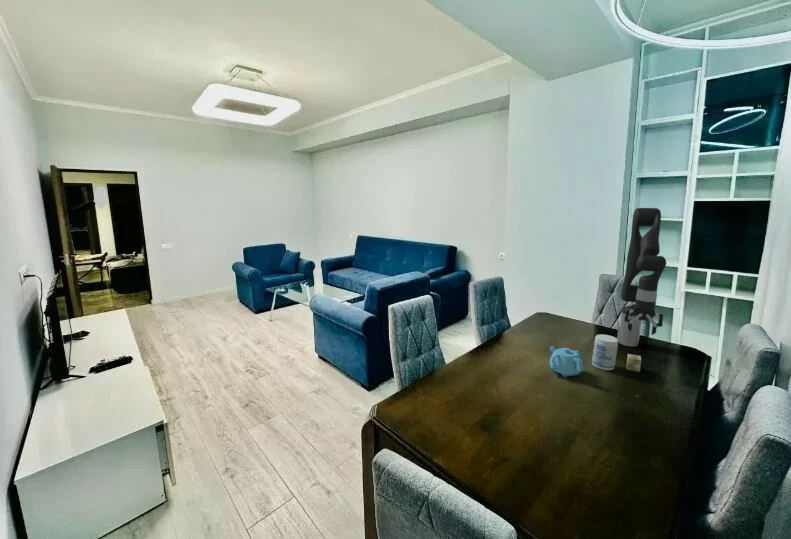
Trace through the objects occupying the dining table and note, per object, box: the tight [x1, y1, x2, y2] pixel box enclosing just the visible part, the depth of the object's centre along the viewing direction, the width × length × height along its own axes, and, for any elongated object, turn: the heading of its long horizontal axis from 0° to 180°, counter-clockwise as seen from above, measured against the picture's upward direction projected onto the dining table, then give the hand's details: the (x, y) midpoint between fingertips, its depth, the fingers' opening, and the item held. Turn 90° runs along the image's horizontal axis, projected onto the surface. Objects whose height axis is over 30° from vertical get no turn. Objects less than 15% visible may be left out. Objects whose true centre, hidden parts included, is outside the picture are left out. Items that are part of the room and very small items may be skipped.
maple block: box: [626, 353, 642, 373], centre depth 164 cm, size 5×5×6 cm
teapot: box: [549, 345, 584, 378], centre depth 161 cm, size 20×17×12 cm
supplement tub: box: [591, 333, 619, 371], centre depth 165 cm, size 10×10×15 cm
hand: (641, 332), depth 160 cm, fingers open, 8 cm apart
